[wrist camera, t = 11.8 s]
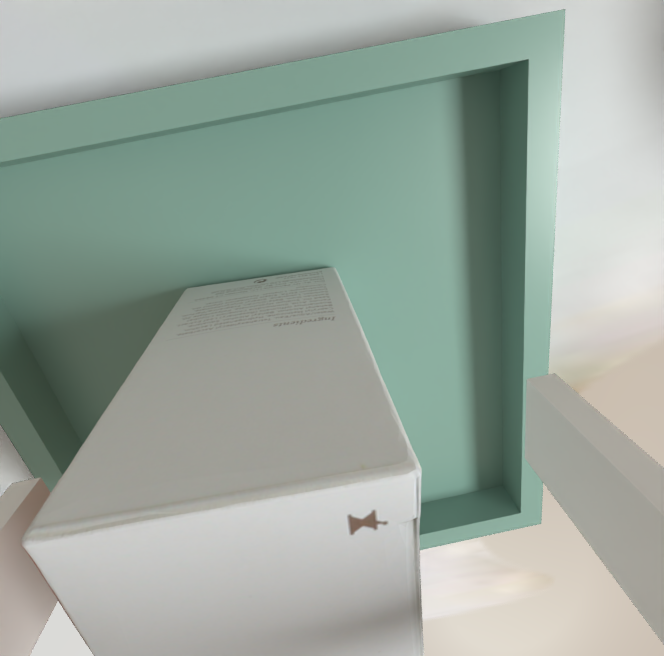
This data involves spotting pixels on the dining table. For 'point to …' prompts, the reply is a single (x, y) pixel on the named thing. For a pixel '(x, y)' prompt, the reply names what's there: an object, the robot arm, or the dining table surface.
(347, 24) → the dining table surface
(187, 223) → the tray
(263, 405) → the small box
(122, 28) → the dining table surface
